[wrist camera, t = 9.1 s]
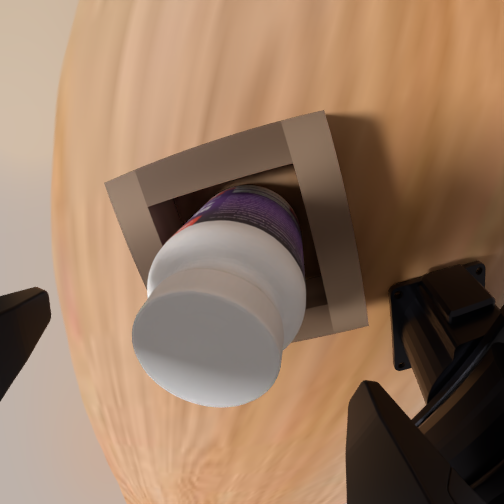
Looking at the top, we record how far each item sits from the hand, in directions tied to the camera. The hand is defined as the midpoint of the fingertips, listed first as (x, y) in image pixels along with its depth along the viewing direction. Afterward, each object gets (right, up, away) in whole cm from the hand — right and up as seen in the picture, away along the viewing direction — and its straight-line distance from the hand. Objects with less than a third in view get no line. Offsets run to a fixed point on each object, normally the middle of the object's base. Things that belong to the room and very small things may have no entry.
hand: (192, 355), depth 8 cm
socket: (+1, +4, +9) cm, 10 cm away
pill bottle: (+1, +4, +9) cm, 10 cm away
